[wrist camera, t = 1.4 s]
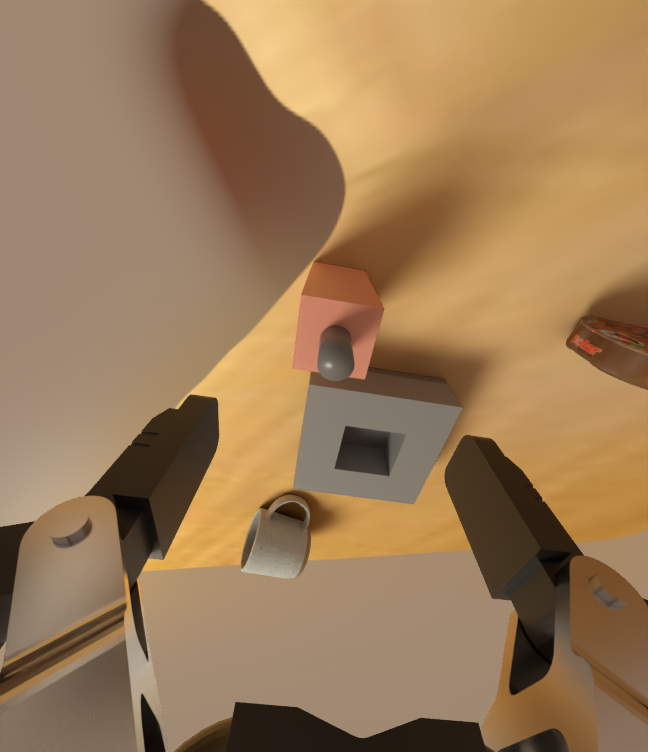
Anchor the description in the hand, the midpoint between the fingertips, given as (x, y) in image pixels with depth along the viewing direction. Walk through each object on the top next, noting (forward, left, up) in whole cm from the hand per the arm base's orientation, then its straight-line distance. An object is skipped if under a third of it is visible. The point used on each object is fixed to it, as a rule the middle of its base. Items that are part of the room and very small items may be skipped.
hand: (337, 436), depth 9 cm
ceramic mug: (+34, -2, -19) cm, 39 cm away
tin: (0, +28, -19) cm, 34 cm away
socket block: (+14, +6, -19) cm, 24 cm away
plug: (0, 0, -19) cm, 19 cm away
